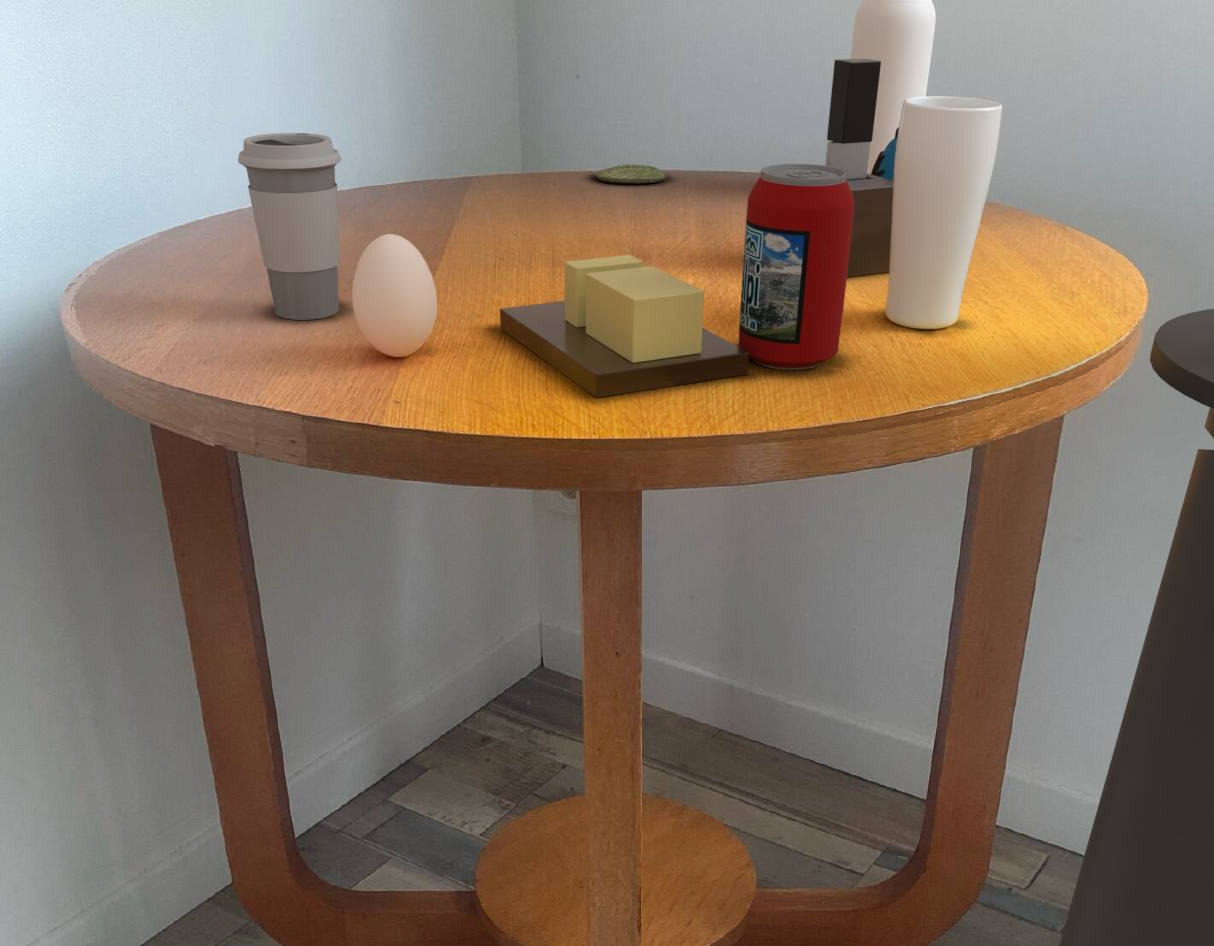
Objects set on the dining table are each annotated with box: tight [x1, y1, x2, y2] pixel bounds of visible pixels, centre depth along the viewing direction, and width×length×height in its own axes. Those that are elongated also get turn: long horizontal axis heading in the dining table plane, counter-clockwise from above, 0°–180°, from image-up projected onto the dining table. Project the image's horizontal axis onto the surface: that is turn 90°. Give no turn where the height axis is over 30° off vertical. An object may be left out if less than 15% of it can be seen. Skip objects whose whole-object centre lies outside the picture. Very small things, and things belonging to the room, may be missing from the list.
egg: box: [351, 233, 438, 358], centre depth 79 cm, size 6×6×8 cm
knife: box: [824, 58, 881, 181], centre depth 100 cm, size 2×4×16 cm, turn 116°
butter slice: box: [564, 254, 644, 327], centre depth 83 cm, size 2×5×4 cm, turn 116°
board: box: [499, 300, 750, 398], centre depth 82 cm, size 16×11×2 cm
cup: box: [237, 132, 342, 321], centre depth 87 cm, size 7×7×12 cm
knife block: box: [847, 174, 893, 278], centre depth 102 cm, size 8×7×7 cm
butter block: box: [586, 265, 705, 363], centre depth 78 cm, size 7×5×4 cm
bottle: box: [850, 0, 937, 174], centre depth 123 cm, size 8×8×30 cm
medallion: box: [594, 164, 667, 185], centre depth 137 cm, size 8×8×1 cm
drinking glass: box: [885, 95, 1003, 330], centre depth 86 cm, size 7×7×15 cm
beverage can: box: [737, 163, 855, 371], centre depth 79 cm, size 7×7×12 cm
